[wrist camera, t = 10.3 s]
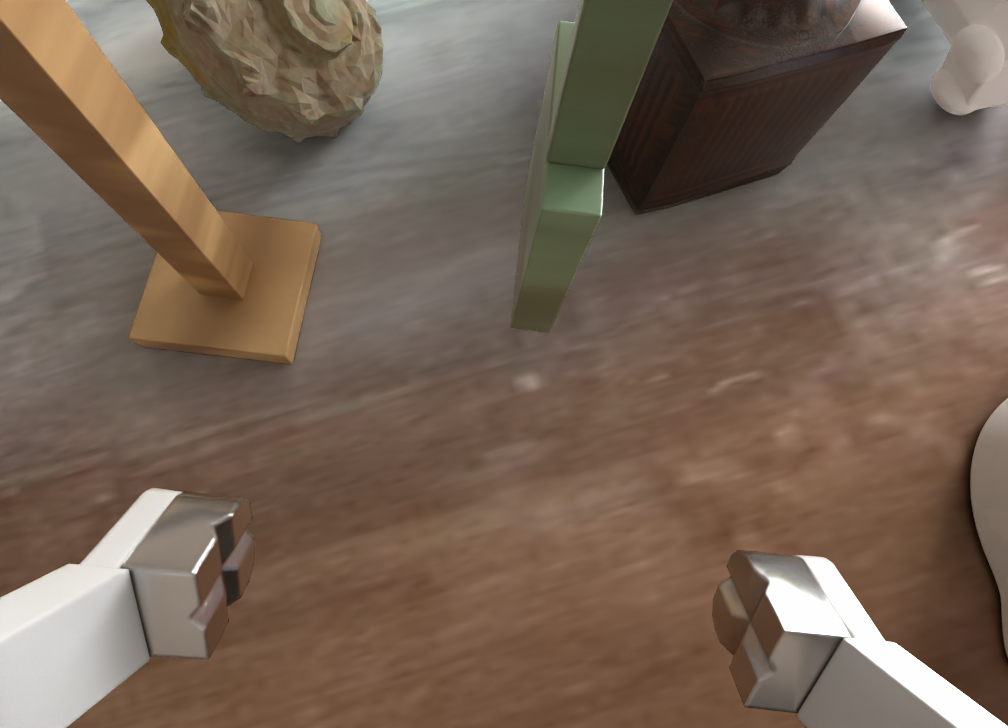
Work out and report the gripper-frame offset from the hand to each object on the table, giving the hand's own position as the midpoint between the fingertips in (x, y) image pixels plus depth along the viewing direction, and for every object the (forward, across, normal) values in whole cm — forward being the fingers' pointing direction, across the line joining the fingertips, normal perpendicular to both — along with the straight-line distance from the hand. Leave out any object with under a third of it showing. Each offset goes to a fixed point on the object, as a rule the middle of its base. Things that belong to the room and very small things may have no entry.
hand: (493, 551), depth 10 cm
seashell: (+29, +13, -6) cm, 33 cm away
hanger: (+14, -1, -1) cm, 14 cm away
